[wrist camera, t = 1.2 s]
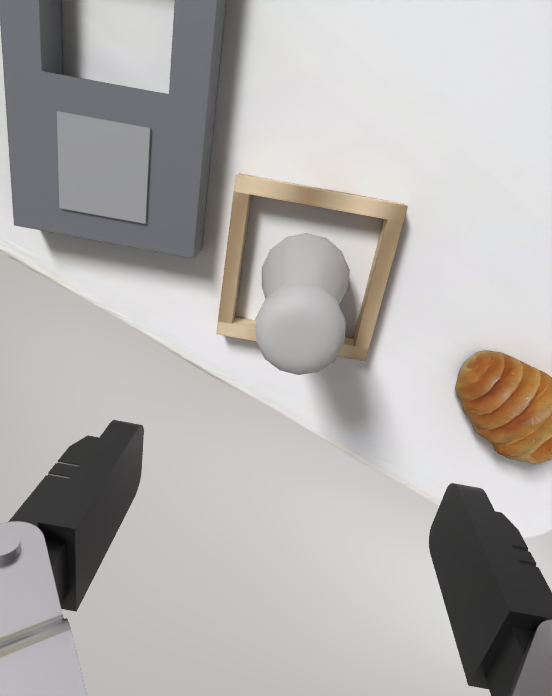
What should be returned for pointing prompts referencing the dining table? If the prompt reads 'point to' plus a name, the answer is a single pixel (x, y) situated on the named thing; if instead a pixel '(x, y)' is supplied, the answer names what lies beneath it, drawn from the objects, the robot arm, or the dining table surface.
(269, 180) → the wooden square frame
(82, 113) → the grey rectangular frame
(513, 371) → the pastry
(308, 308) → the salt shaker
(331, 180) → the dining table surface
